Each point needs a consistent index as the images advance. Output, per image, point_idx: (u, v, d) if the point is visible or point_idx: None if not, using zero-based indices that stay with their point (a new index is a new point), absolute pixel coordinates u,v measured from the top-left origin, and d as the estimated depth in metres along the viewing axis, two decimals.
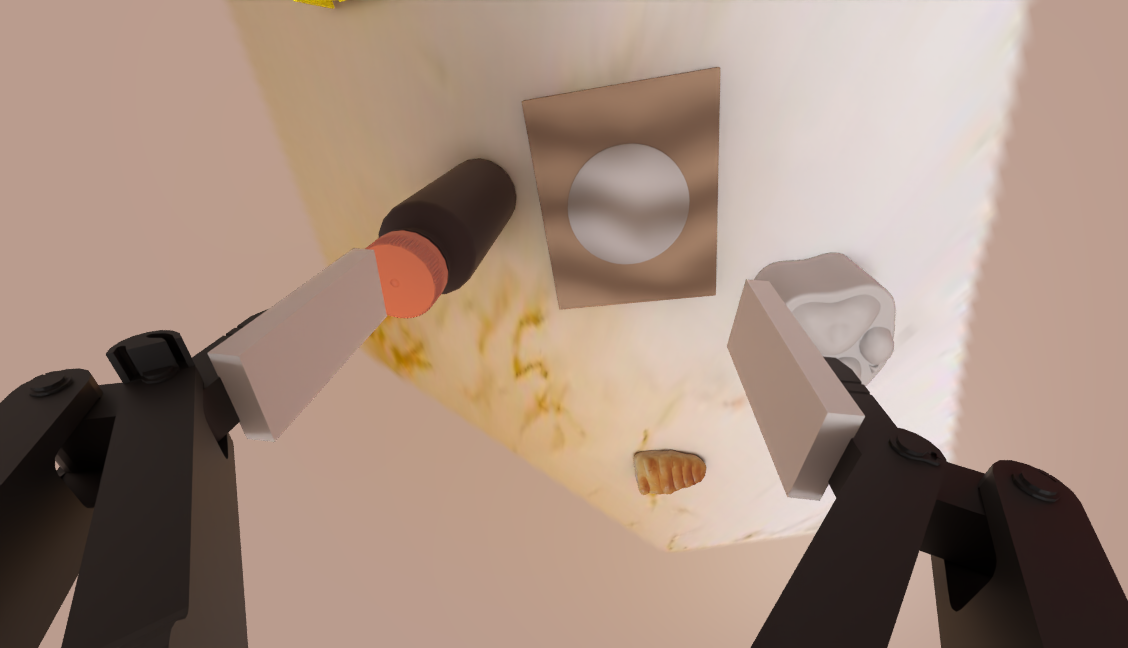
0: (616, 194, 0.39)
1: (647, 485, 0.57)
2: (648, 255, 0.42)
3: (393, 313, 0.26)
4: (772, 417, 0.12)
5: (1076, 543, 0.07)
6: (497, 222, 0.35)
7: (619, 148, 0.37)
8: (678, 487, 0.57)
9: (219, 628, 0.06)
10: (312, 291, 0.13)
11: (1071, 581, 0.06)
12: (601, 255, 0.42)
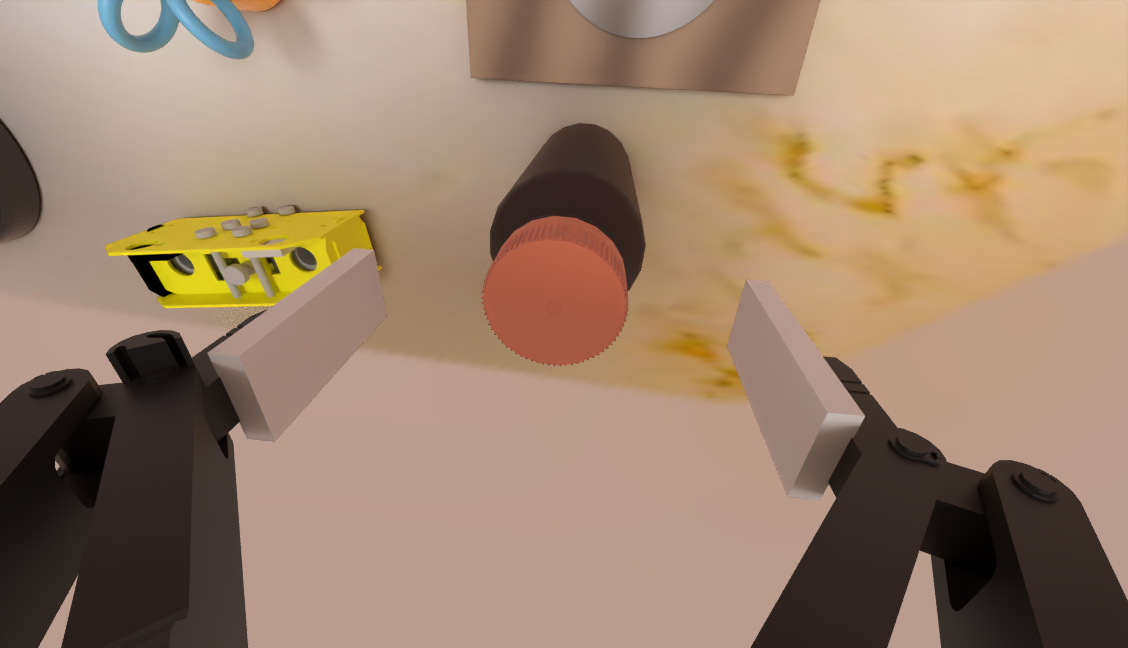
0: None
1: None
2: None
3: (610, 333, 0.15)
4: (772, 417, 0.12)
5: (1077, 543, 0.07)
6: (589, 143, 0.23)
7: None
8: None
9: (219, 628, 0.06)
10: (312, 291, 0.13)
11: (1071, 581, 0.06)
12: None
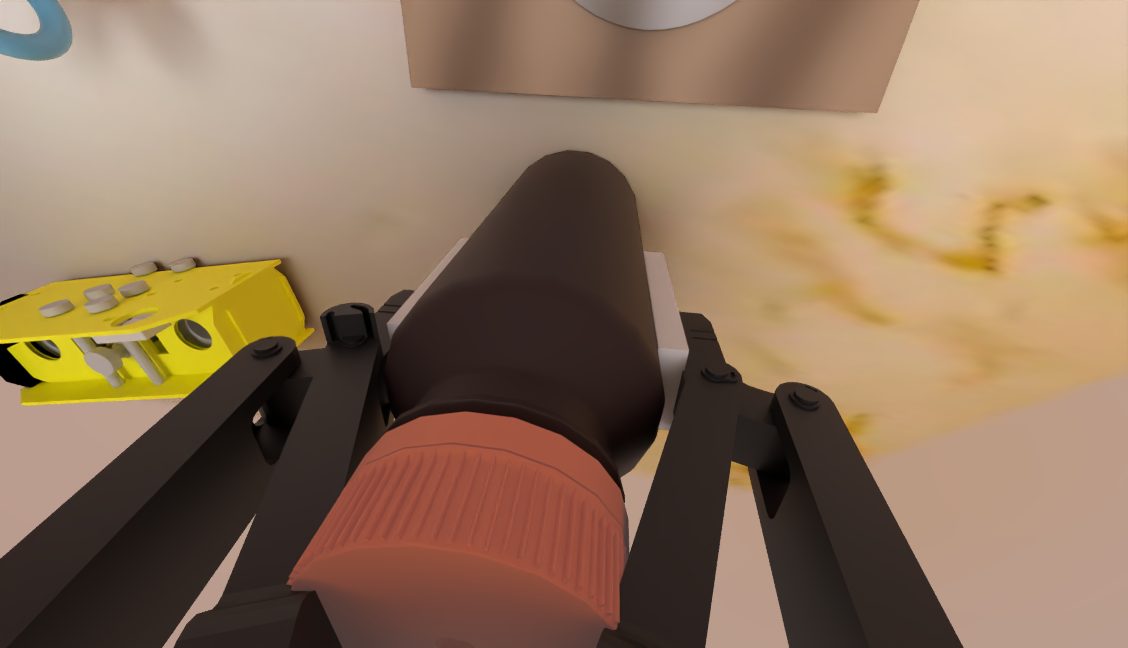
0: None
1: None
2: None
3: None
4: None
5: (835, 437, 0.09)
6: (574, 194, 0.14)
7: None
8: None
9: None
10: None
11: (836, 470, 0.08)
12: None
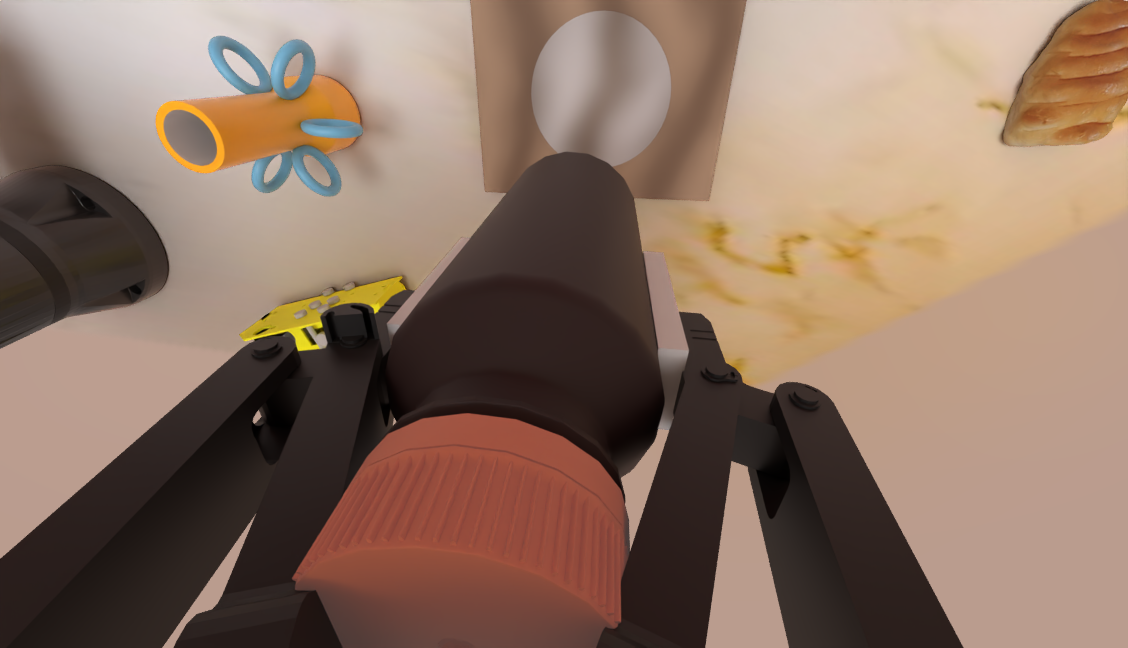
0: (582, 107, 0.35)
1: (1083, 126, 0.32)
2: (664, 73, 0.33)
3: None
4: None
5: (835, 437, 0.09)
6: (573, 196, 0.14)
7: (534, 98, 0.35)
8: (1124, 62, 0.30)
9: None
10: None
11: (836, 470, 0.08)
12: (650, 136, 0.36)
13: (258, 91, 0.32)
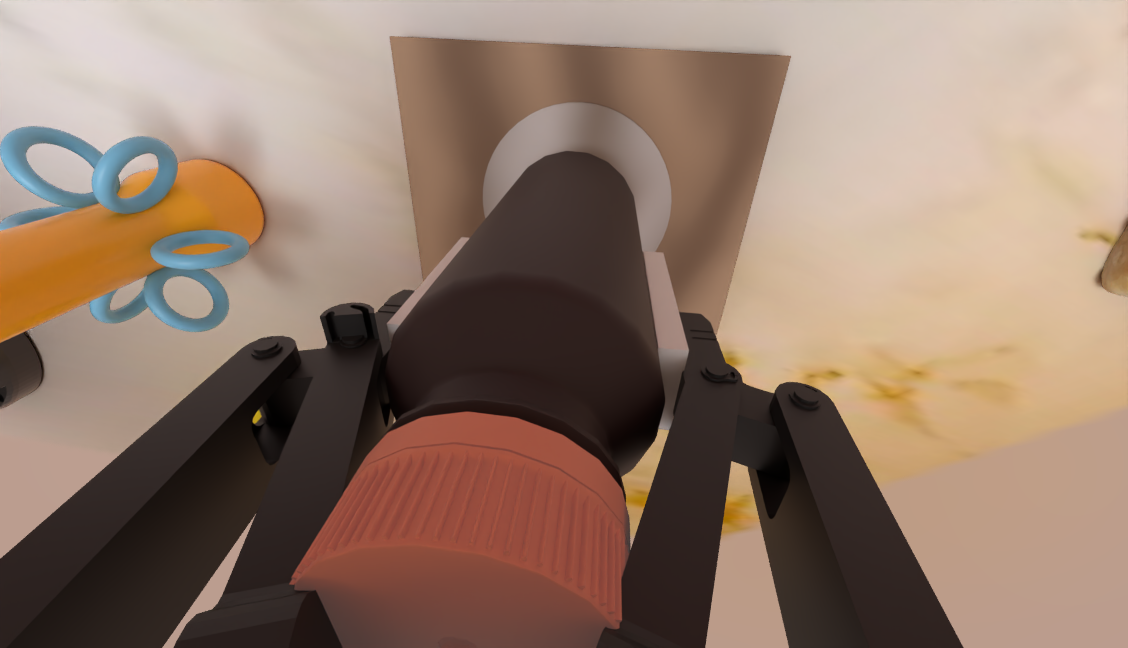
0: None
1: None
2: (662, 185, 0.24)
3: None
4: None
5: (835, 437, 0.09)
6: (573, 194, 0.14)
7: (487, 206, 0.26)
8: None
9: None
10: None
11: (836, 470, 0.08)
12: None
13: (89, 201, 0.22)
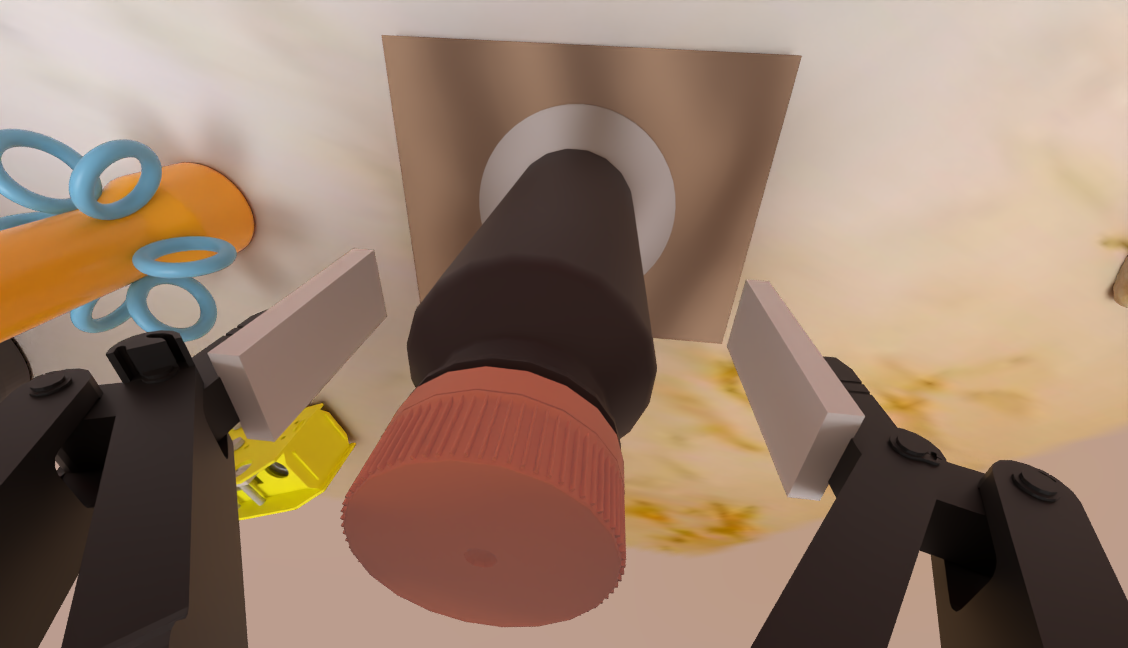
0: None
1: None
2: (666, 190, 0.23)
3: (592, 597, 0.08)
4: (772, 417, 0.12)
5: (1077, 543, 0.07)
6: (574, 188, 0.16)
7: (483, 211, 0.25)
8: None
9: (219, 628, 0.06)
10: (312, 291, 0.13)
11: (1071, 581, 0.06)
12: (644, 266, 0.26)
13: (68, 207, 0.22)
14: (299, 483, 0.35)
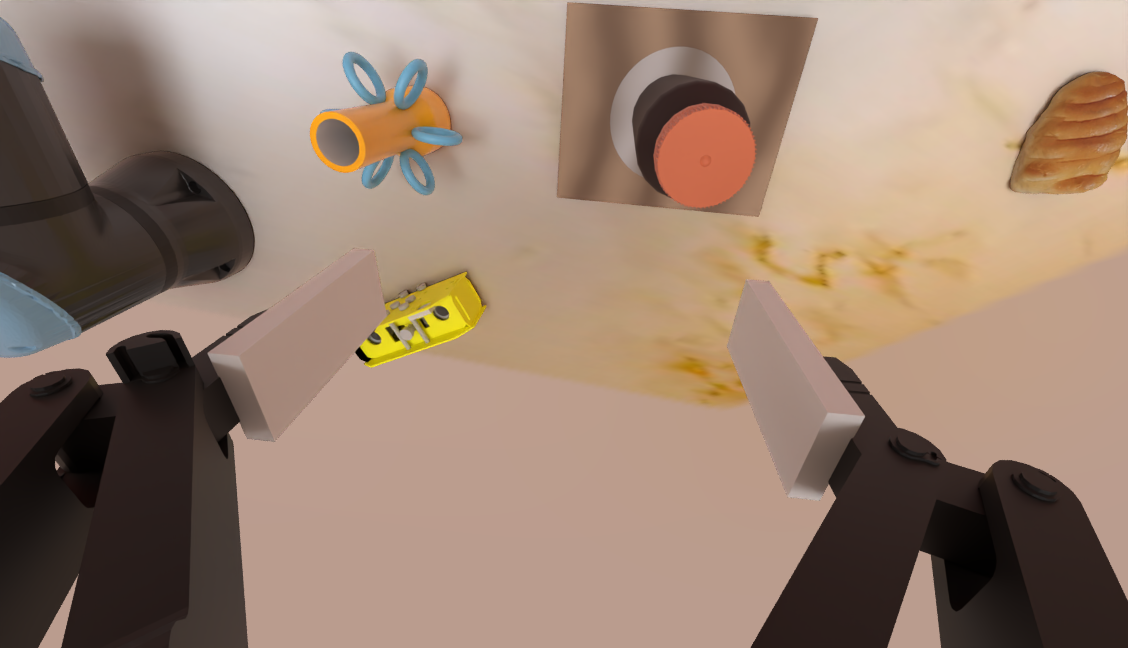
0: None
1: (1080, 178, 0.36)
2: None
3: (740, 181, 0.22)
4: (772, 417, 0.12)
5: (1076, 542, 0.07)
6: None
7: (612, 117, 0.39)
8: (1113, 126, 0.34)
9: (219, 628, 0.06)
10: (312, 291, 0.13)
11: (1071, 581, 0.06)
12: None
13: (378, 101, 0.36)
14: (455, 324, 0.49)
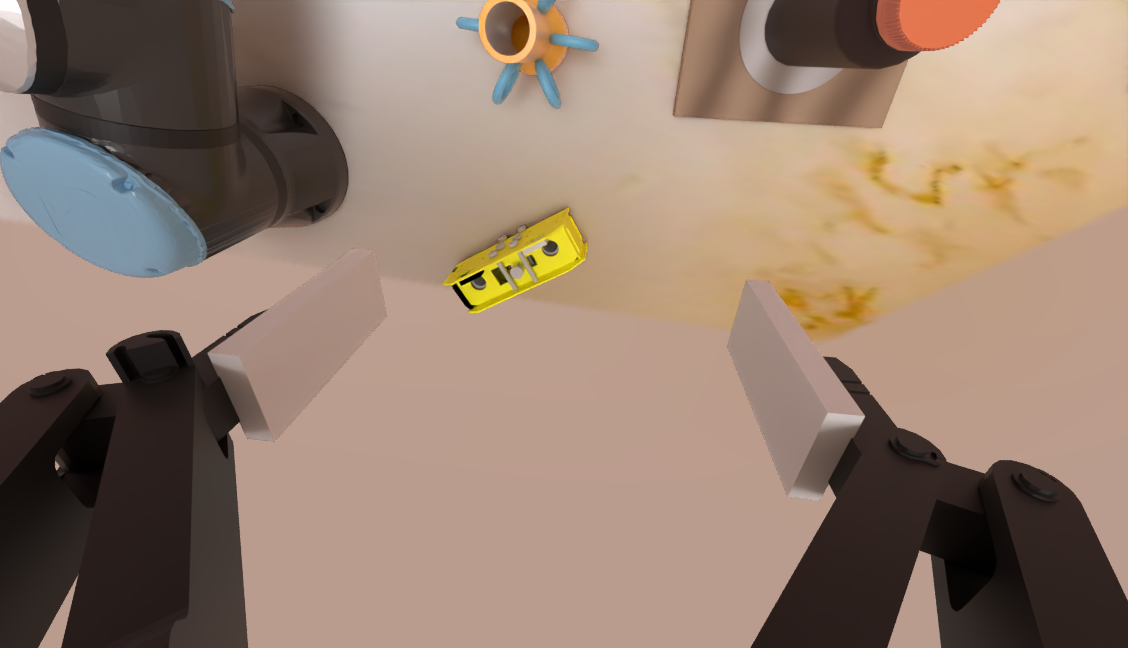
0: None
1: None
2: None
3: (986, 14, 0.22)
4: (772, 417, 0.12)
5: (1076, 542, 0.07)
6: None
7: (743, 24, 0.39)
8: None
9: (219, 628, 0.06)
10: (312, 291, 0.13)
11: (1071, 581, 0.06)
12: None
13: None
14: (564, 259, 0.49)
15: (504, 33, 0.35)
